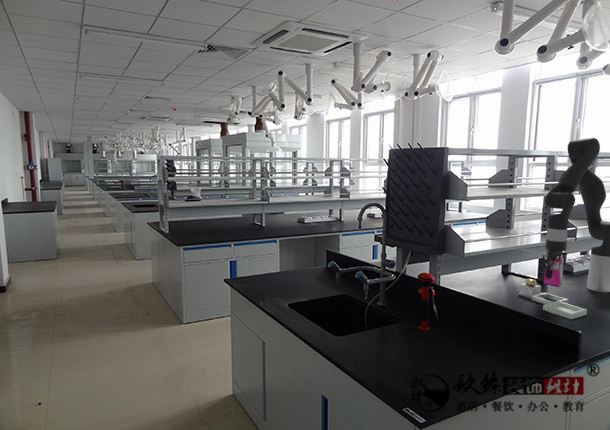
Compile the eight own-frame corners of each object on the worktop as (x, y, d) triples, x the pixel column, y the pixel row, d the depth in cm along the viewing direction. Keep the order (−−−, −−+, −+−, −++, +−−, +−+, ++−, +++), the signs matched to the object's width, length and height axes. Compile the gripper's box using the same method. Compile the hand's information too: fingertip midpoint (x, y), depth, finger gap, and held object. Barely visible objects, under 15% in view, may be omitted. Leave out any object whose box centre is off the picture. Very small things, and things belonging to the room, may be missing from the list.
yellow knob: (528, 292, 184) (529, 278, 183) (536, 294, 181) (538, 280, 180) (522, 293, 182) (524, 279, 182) (531, 295, 179) (532, 281, 178)
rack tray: (558, 305, 169) (558, 301, 169) (586, 314, 160) (587, 309, 159) (542, 309, 164) (543, 304, 164) (571, 319, 154) (571, 314, 154)
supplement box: (546, 281, 177) (549, 256, 175) (562, 284, 173) (564, 258, 171) (542, 284, 173) (545, 258, 171) (558, 287, 169) (561, 260, 167)
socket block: (529, 292, 187) (530, 281, 186) (568, 303, 172) (569, 292, 171) (516, 295, 182) (517, 284, 181) (554, 307, 167) (555, 295, 167)
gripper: (557, 236, 177) (553, 272, 179) (537, 239, 170) (534, 277, 172) (575, 238, 170) (571, 276, 173) (555, 242, 163) (552, 281, 166)
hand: (553, 276), depth 172 cm, fingers closed on supplement box, 6 cm apart
